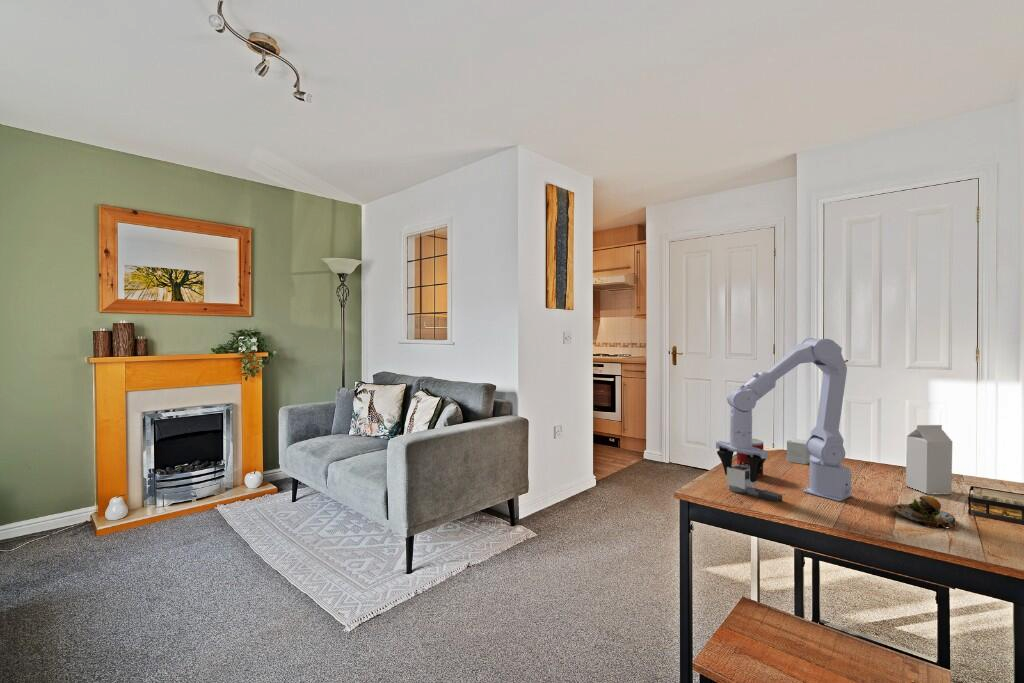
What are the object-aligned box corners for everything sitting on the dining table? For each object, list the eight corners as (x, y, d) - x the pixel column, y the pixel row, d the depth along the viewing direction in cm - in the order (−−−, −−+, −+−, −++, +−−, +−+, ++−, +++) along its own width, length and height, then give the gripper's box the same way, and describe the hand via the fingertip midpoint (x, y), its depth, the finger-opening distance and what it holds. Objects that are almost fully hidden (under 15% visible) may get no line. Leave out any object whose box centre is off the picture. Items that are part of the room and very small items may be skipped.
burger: (892, 507, 126) (893, 479, 126) (953, 518, 118) (954, 488, 118) (892, 521, 116) (892, 491, 116) (957, 534, 109) (958, 502, 109)
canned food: (738, 477, 151) (739, 442, 150) (734, 470, 158) (735, 437, 158) (765, 479, 148) (766, 444, 148) (760, 472, 156) (760, 438, 156)
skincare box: (811, 461, 168) (811, 441, 168) (805, 464, 164) (805, 443, 164) (792, 458, 173) (793, 438, 172) (786, 461, 169) (786, 440, 169)
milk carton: (951, 494, 134) (953, 427, 134) (926, 495, 134) (927, 427, 134) (929, 486, 141) (930, 422, 141) (905, 486, 141) (906, 422, 141)
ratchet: (724, 489, 139) (725, 474, 139) (736, 485, 142) (736, 470, 142) (773, 504, 127) (774, 486, 127) (785, 499, 131) (785, 482, 131)
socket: (755, 485, 138) (755, 468, 137) (744, 489, 134) (744, 471, 134) (737, 480, 142) (737, 464, 142) (726, 484, 139) (726, 467, 139)
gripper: (710, 428, 142) (709, 474, 142) (758, 437, 130) (758, 487, 130) (723, 425, 146) (723, 469, 146) (771, 434, 134) (771, 482, 134)
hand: (740, 477), depth 138 cm, fingers open, 7 cm apart
